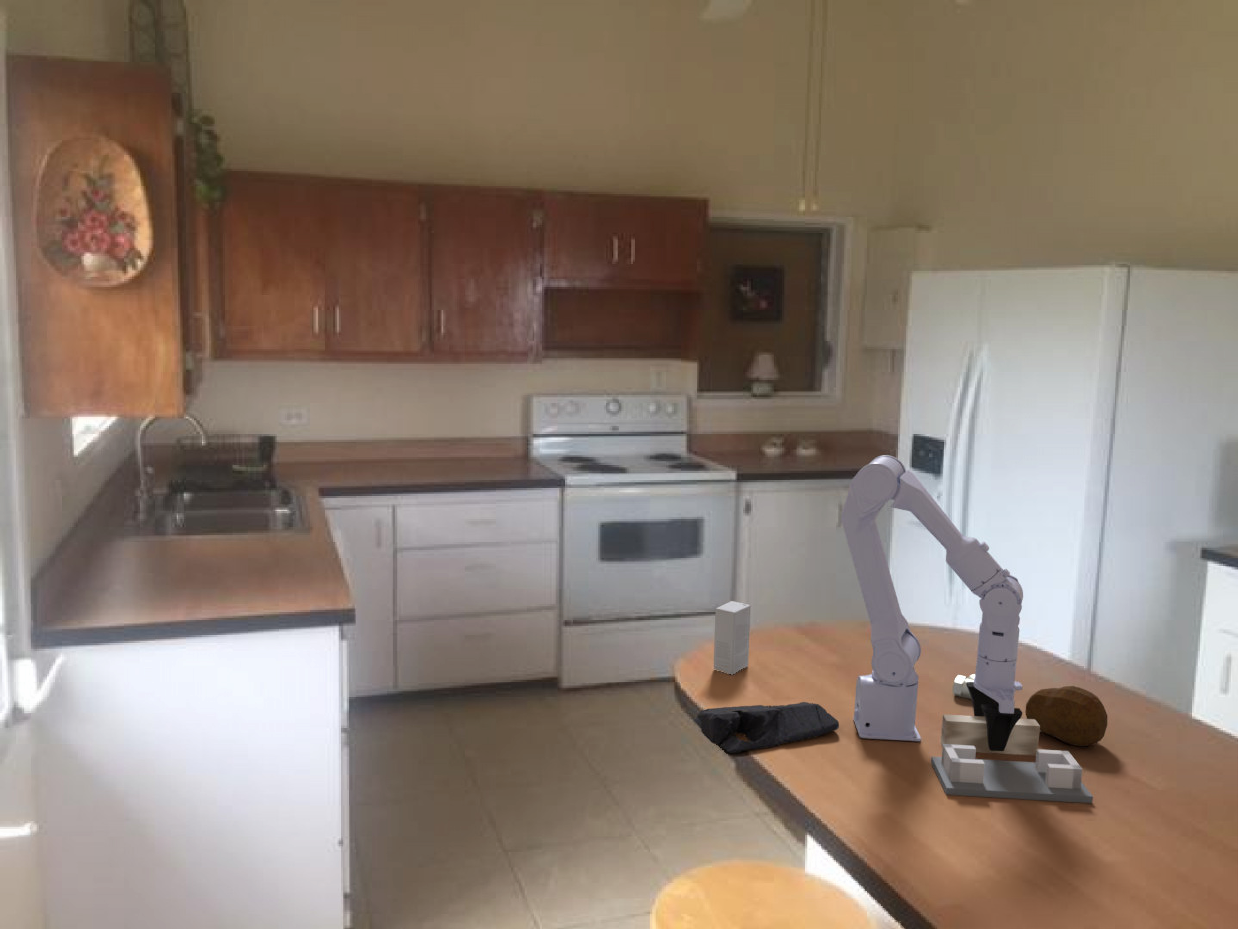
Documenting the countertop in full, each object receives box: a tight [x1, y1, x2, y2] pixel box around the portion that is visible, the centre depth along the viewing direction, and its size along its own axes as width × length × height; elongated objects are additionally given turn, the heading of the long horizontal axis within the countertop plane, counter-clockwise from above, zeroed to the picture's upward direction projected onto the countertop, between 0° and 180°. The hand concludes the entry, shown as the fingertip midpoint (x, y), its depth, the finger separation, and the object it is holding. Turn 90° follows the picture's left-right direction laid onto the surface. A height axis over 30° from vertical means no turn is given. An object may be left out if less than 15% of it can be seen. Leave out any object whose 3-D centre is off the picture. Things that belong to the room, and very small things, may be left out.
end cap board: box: [930, 744, 1094, 804], centre depth 153 cm, size 20×10×4 cm, turn 86°
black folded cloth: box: [692, 701, 840, 754], centre depth 169 cm, size 15×22×5 cm
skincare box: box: [713, 600, 751, 676], centre depth 194 cm, size 6×4×12 cm
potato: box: [1025, 685, 1108, 747], centre depth 168 cm, size 8×12×9 cm
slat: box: [940, 713, 1041, 757], centre depth 163 cm, size 14×2×5 cm, turn 86°
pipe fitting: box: [952, 673, 975, 700], centre depth 184 cm, size 8×4×7 cm
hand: (989, 739), depth 163 cm, fingers open, 7 cm apart
